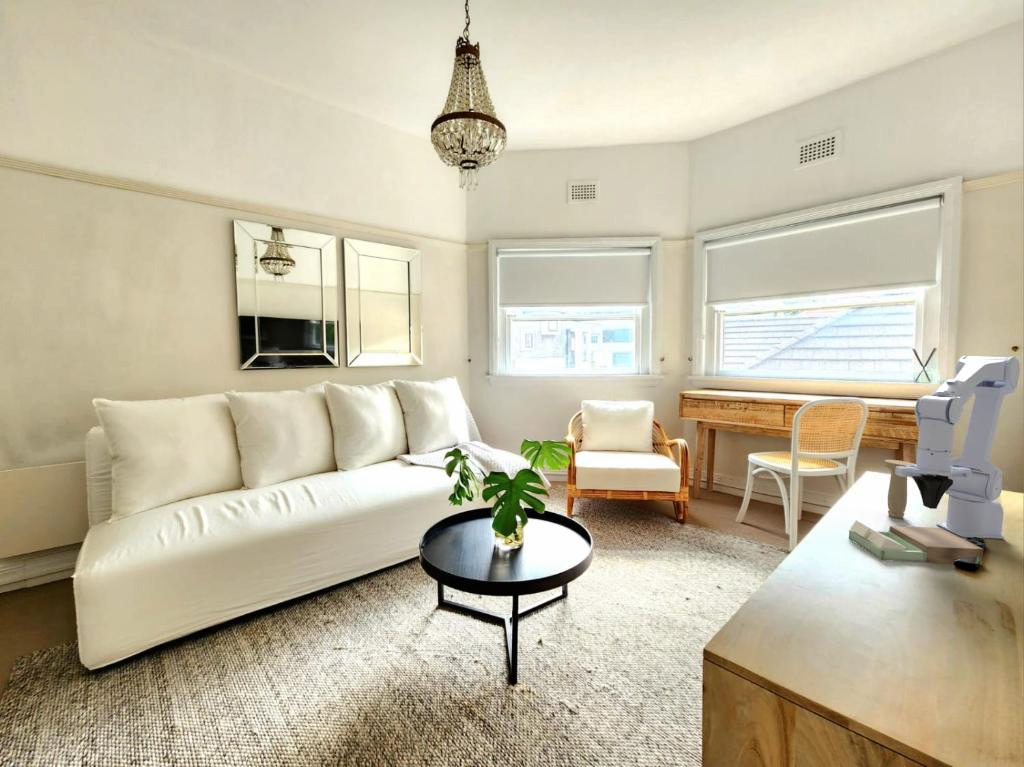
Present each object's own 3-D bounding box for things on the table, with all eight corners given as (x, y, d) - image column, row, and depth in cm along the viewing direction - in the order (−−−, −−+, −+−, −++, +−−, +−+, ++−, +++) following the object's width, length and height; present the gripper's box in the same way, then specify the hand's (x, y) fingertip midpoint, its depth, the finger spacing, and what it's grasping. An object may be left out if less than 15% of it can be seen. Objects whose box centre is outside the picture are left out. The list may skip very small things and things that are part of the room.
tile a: (856, 520, 108) (850, 528, 108) (869, 527, 103) (862, 536, 104) (872, 529, 108) (866, 538, 108) (886, 538, 103) (880, 546, 103)
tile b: (872, 529, 103) (866, 539, 103) (886, 538, 98) (880, 548, 99) (891, 538, 102) (886, 548, 103) (906, 547, 98) (900, 557, 98)
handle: (908, 522, 119) (912, 466, 117) (878, 514, 124) (882, 461, 122) (913, 518, 121) (918, 463, 120) (884, 510, 127) (888, 458, 125)
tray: (888, 540, 108) (889, 531, 108) (925, 562, 97) (926, 552, 97) (848, 538, 109) (849, 529, 109) (880, 560, 98) (881, 550, 98)
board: (938, 542, 107) (940, 527, 107) (981, 564, 96) (983, 548, 96) (888, 540, 108) (890, 525, 108) (925, 562, 97) (927, 546, 97)
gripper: (913, 453, 98) (909, 512, 100) (986, 453, 97) (980, 514, 98) (890, 445, 105) (886, 501, 107) (957, 446, 104) (952, 502, 105)
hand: (929, 507), depth 103 cm, fingers closed
